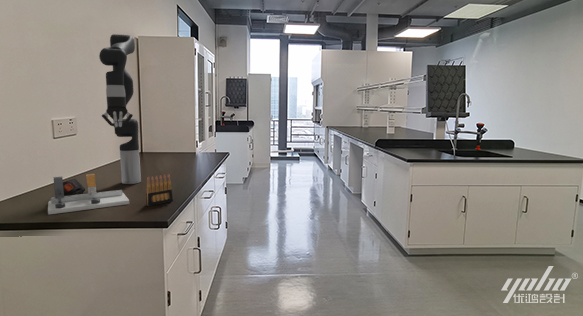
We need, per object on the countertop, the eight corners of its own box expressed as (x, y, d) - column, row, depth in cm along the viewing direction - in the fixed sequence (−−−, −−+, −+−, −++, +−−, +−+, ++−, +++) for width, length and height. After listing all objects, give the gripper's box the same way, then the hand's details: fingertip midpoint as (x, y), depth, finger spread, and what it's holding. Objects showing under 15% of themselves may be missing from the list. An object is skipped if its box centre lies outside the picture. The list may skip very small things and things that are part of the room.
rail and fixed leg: (51, 202, 148) (49, 177, 147) (121, 193, 162) (120, 171, 161) (51, 208, 139) (48, 182, 138) (125, 199, 153) (124, 175, 151)
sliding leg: (87, 193, 155) (86, 174, 154) (95, 192, 157) (94, 173, 155) (89, 199, 146) (88, 178, 144) (98, 198, 147) (96, 178, 146)
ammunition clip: (148, 205, 149) (146, 176, 147) (146, 205, 150) (144, 176, 148) (172, 201, 156) (171, 173, 155) (170, 200, 158) (169, 172, 156)
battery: (61, 202, 160) (73, 193, 159) (50, 187, 160) (62, 178, 159) (79, 198, 171) (90, 189, 171) (69, 184, 172) (80, 175, 171)
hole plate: (48, 204, 150) (48, 198, 150) (123, 195, 165) (123, 190, 164) (48, 214, 137) (47, 207, 136) (129, 203, 151) (129, 197, 151)
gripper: (130, 96, 168) (133, 134, 170) (98, 95, 161) (101, 135, 163) (133, 96, 161) (136, 135, 164) (100, 95, 154) (102, 136, 157)
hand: (118, 135), depth 164 cm, fingers closed
